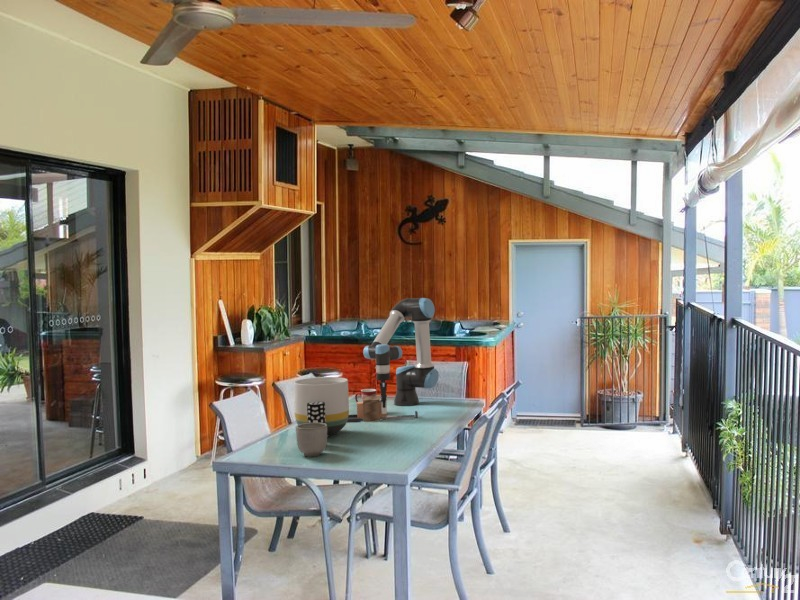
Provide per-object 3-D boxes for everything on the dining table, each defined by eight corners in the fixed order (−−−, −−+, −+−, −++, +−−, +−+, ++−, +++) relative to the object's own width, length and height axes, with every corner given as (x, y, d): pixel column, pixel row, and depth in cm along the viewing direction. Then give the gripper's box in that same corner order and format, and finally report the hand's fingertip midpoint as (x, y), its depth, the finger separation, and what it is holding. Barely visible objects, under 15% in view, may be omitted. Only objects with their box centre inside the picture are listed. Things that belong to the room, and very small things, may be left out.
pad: (382, 420, 382) (382, 419, 382) (381, 417, 391) (381, 416, 391) (413, 419, 383) (413, 418, 383) (412, 415, 392) (412, 415, 392)
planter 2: (334, 453, 311) (333, 424, 310) (310, 460, 300) (309, 430, 300) (313, 449, 320) (312, 421, 320) (290, 455, 310) (289, 426, 309)
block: (357, 418, 383) (356, 403, 383) (357, 416, 388) (356, 401, 388) (386, 417, 384) (386, 402, 383) (386, 415, 389) (385, 400, 389)
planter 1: (360, 432, 354) (358, 378, 353) (325, 443, 332) (323, 386, 331) (319, 427, 369) (318, 375, 368) (284, 437, 347) (282, 382, 346)
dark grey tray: (343, 422, 379) (343, 419, 379) (344, 418, 391) (343, 414, 391) (360, 421, 380) (359, 418, 380) (360, 417, 392) (360, 414, 392)
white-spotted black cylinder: (304, 446, 327) (303, 403, 326) (318, 443, 332) (317, 400, 332) (315, 449, 321) (314, 405, 320) (330, 445, 327) (328, 402, 326)
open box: (363, 421, 380) (363, 400, 380) (363, 417, 392) (363, 396, 392) (380, 420, 380) (379, 399, 380) (380, 416, 392) (379, 396, 392)
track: (361, 420, 383) (360, 414, 383) (361, 418, 388) (360, 413, 388) (417, 418, 385) (417, 412, 385) (417, 416, 390) (416, 411, 390)
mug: (379, 412, 405) (378, 389, 405) (373, 415, 397) (372, 391, 396) (359, 411, 410) (358, 388, 409) (353, 414, 401) (352, 390, 401)
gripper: (375, 370, 398) (376, 407, 398) (376, 375, 373) (377, 415, 373) (389, 369, 398) (390, 407, 399) (390, 375, 373) (391, 415, 374)
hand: (383, 411), depth 386 cm, fingers open, 13 cm apart
